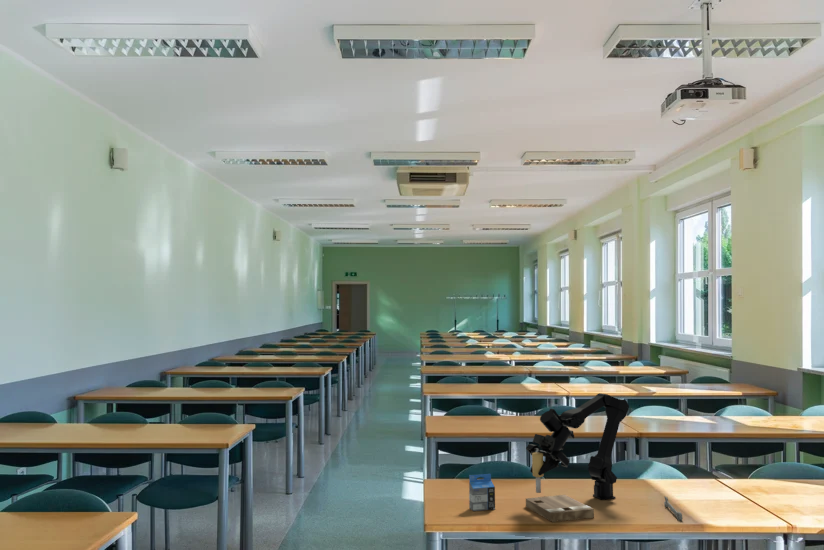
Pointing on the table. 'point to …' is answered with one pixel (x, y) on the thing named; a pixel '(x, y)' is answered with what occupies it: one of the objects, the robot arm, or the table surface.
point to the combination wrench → (678, 514)
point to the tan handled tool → (537, 469)
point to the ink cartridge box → (481, 493)
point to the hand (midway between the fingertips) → (535, 473)
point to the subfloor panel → (559, 508)
